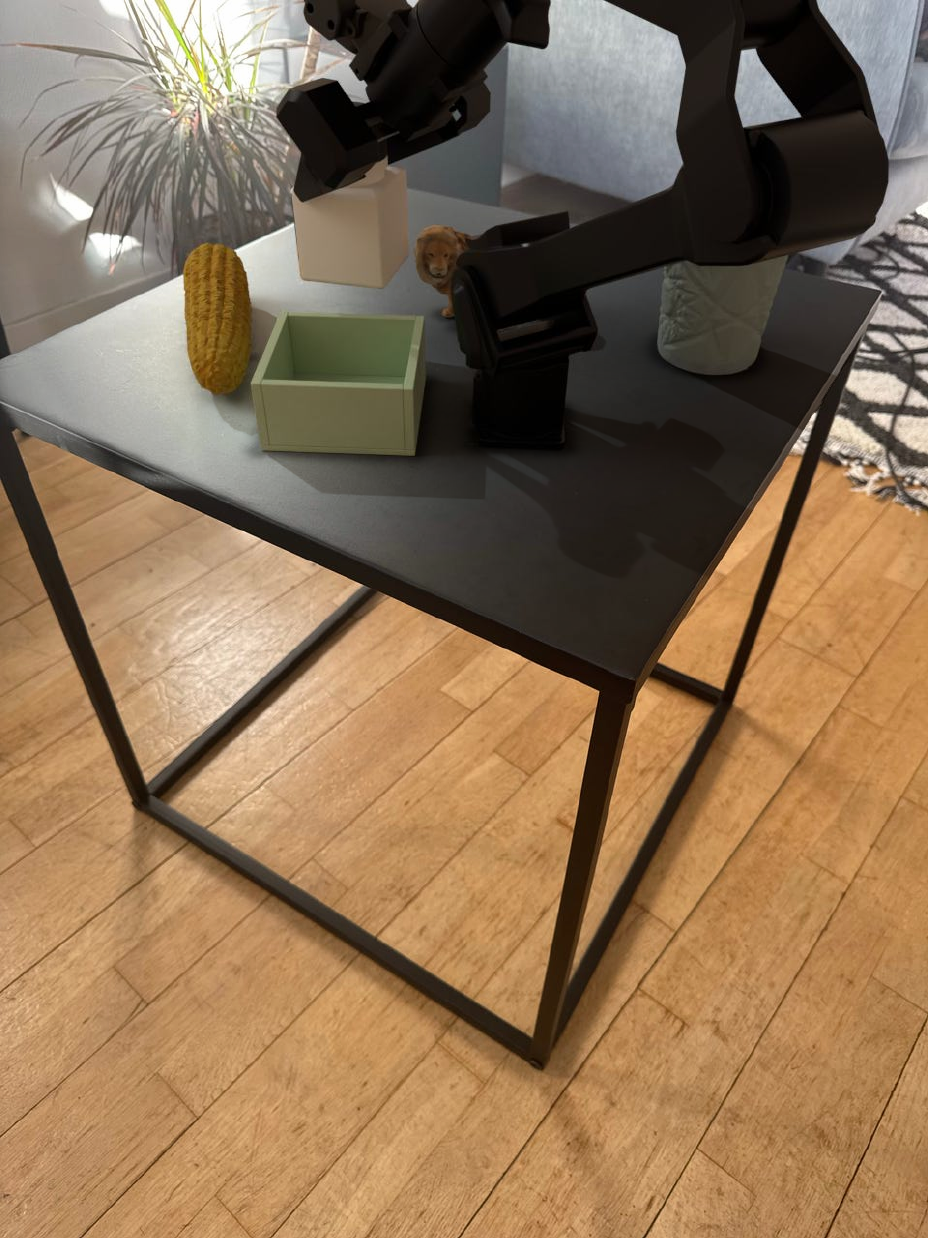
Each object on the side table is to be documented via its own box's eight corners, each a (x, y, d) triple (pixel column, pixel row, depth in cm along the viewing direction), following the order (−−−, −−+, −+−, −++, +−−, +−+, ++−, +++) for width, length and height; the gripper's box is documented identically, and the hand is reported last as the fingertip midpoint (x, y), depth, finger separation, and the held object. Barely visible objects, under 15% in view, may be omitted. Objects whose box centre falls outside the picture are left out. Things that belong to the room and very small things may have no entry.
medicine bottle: (330, 248, 80) (315, 91, 72) (410, 256, 79) (404, 97, 71) (299, 281, 75) (279, 116, 67) (384, 291, 74) (374, 124, 66)
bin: (425, 378, 78) (424, 315, 74) (414, 456, 69) (413, 389, 66) (288, 374, 78) (280, 310, 74) (260, 450, 70) (250, 383, 66)
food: (188, 299, 88) (176, 234, 84) (249, 294, 89) (240, 230, 85) (193, 415, 73) (179, 344, 69) (267, 408, 74) (257, 337, 70)
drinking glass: (781, 345, 83) (818, 205, 75) (737, 393, 77) (772, 246, 68) (675, 315, 87) (699, 178, 79) (625, 358, 81) (646, 215, 72)
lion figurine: (429, 344, 82) (428, 241, 76) (405, 319, 85) (402, 218, 79) (574, 313, 87) (584, 213, 81) (545, 290, 90) (553, 193, 84)
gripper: (458, -96, 66) (345, 63, 77) (279, -65, 54) (179, 116, 66) (549, 49, 68) (426, 182, 80) (396, 108, 56) (279, 253, 68)
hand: (334, 180), depth 73 cm, fingers closed on medicine bottle, 8 cm apart
